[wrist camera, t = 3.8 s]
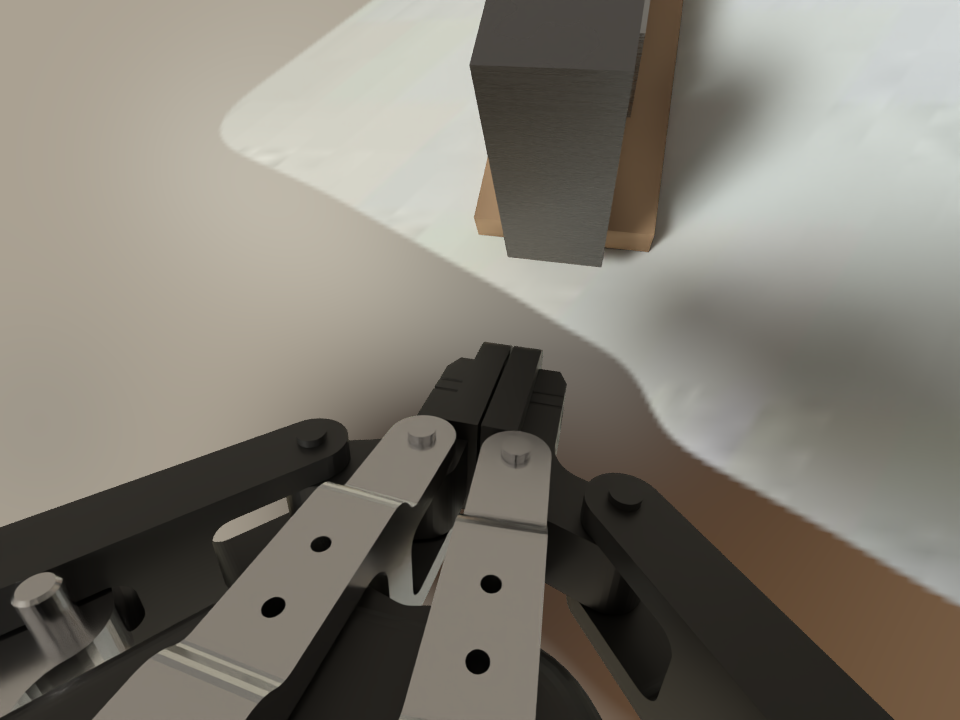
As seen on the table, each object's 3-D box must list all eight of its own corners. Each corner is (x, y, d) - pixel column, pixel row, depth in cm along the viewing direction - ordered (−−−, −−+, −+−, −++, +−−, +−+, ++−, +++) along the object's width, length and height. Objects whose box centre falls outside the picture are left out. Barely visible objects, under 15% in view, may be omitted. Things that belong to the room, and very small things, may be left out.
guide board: (688, -68, 29) (695, -99, 27) (648, 251, 23) (654, 234, 22) (546, -66, 30) (545, -95, 29) (478, 234, 25) (474, 217, 24)
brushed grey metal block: (645, -28, 26) (696, -345, 16) (601, 267, 21) (634, 71, 12) (566, -29, 26) (569, -331, 17) (508, 256, 22) (469, 64, 13)
